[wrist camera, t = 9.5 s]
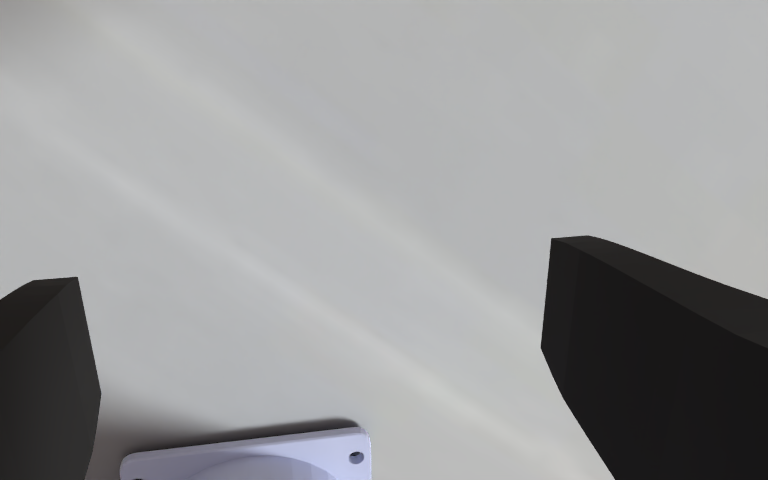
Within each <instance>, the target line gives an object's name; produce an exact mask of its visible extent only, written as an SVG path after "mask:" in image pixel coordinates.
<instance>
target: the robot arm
mask: <svg viewBox="0 0 768 480" xmlns="http://www.w3.org/2000/svg"><path fill="white" fill-rule="evenodd" d="M541 350H542V352H543V354H544V357H545V359H546V361H547V364H548V366H549V369H550V371H551V373H552V376H553V378H554V380H555V382H556V384H557V386H558V388H559V391H560V393H561V395H562V397H563V399H564V400H565V402H566V404H567V405H568V407H569V409H570V410H571V412H572V413H573V415H574V416H575V418H576V420H577V421H578V423H579V424H580V426H581V428H582V429H583V431H584V432H585V434H586V435H587V437H588V438H589V440H590V442H591V443H592V445H593V446H594V448H595V449H596V451H597V452H598V454H599V455H600V457H601V458H602V460H603V462H604V463H605V465H606V466H607V468H608V469H609V471H610V472H611V474H612V475H613V477H614V479H615V480H768V299H765V298H762V297H759V296H757V295H754V294H751V293H748V292H745V291H742V290H739V289H736V288H733V287H730V286H727V285H724V284H722V283H719V282H716V281H713V280H711V279H708V278H705V277H703V276H700V275H697V274H695V273H692V272H690V271H687V270H684V269H682V268H679V267H677V266H674V265H672V264H669V263H666V262H664V261H661V260H659V259H656V258H654V257H651V256H649V255H646V254H643V253H641V252H638V251H636V250H633V249H630V248H628V247H625V246H622V245H619V244H616V243H614V242H611V241H607V240H604V239H601V238H597V237H592V236H576V237H563V238H551V249H550V259H549V269H548V279H547V289H546V299H545V309H544V320H543V330H542V340H541ZM100 399H101V390H100V385H99V380H98V375H97V370H96V365H95V360H94V355H93V350H92V346H91V341H90V336H89V331H88V326H87V321H86V316H85V311H84V306H83V301H82V296H81V291H80V286H79V281H78V277H69V278H57V279H44V280H33V281H31V282H29V283H27V284H25V285H23V286H21V287H19V288H18V289H16V290H15V291H13V292H11V293H10V294H8V295H7V296H5V297H4V298H2V299H1V300H0V480H84V478H85V475H86V472H87V469H88V465H89V462H90V458H91V455H92V451H93V445H94V439H95V433H96V427H97V421H98V414H99V406H100ZM356 451H357V452H361V453H360V454H359V455H357V456H350V454H351V453H353V452H356ZM119 474H120V479H121V480H134V479H143V480H371V442H370V438H369V434H368V432H367V431H366V430H365V429H363V428H361V427H350V428H342V429H333V430H325V431H316V432H308V433H299V434H291V435H282V436H274V437H265V438H257V439H248V440H240V441H231V442H223V443H214V444H206V445H197V446H189V447H180V448H172V449H163V450H155V451H146V452H138V453H133V454H129V455H127V456H126V457H125V458H124V459H123V460H122V462H121V466H120V473H119Z"/></svg>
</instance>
